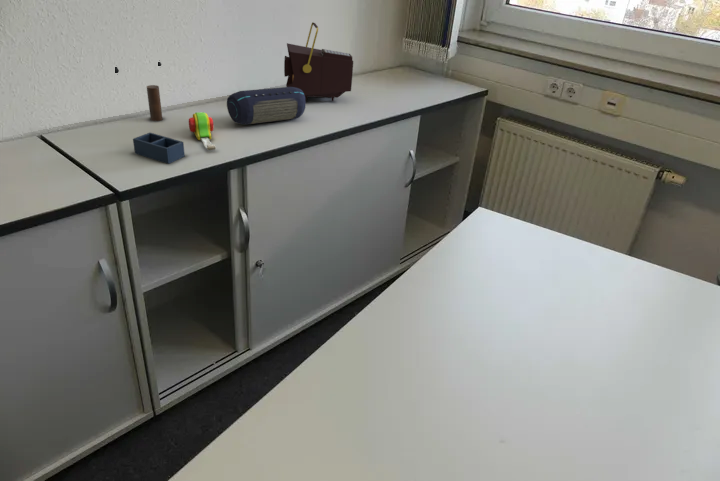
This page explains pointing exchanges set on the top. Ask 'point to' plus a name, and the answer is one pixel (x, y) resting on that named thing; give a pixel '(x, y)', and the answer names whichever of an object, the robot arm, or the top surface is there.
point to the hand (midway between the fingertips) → (138, 70)
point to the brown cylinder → (154, 102)
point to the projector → (318, 70)
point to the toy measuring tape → (202, 128)
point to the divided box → (159, 147)
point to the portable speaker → (266, 105)
